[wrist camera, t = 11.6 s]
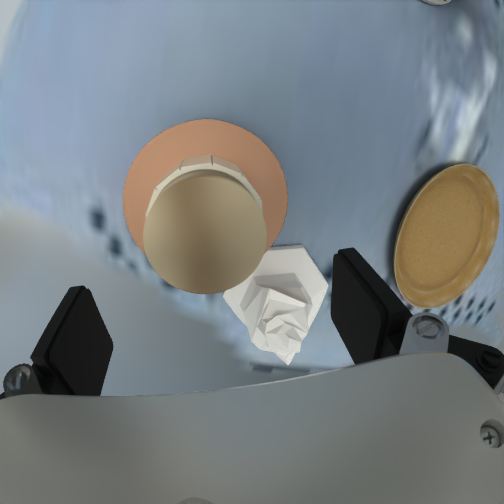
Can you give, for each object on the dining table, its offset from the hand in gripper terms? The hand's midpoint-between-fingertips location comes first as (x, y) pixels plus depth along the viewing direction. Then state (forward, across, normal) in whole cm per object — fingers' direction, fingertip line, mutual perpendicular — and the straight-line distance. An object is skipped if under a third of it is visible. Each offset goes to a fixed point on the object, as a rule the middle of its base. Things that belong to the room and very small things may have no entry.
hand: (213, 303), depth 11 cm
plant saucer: (+25, -34, +13) cm, 45 cm away
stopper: (+13, 0, 0) cm, 13 cm away
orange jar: (+24, +1, +1) cm, 25 cm away
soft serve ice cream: (+25, -5, +16) cm, 30 cm away
